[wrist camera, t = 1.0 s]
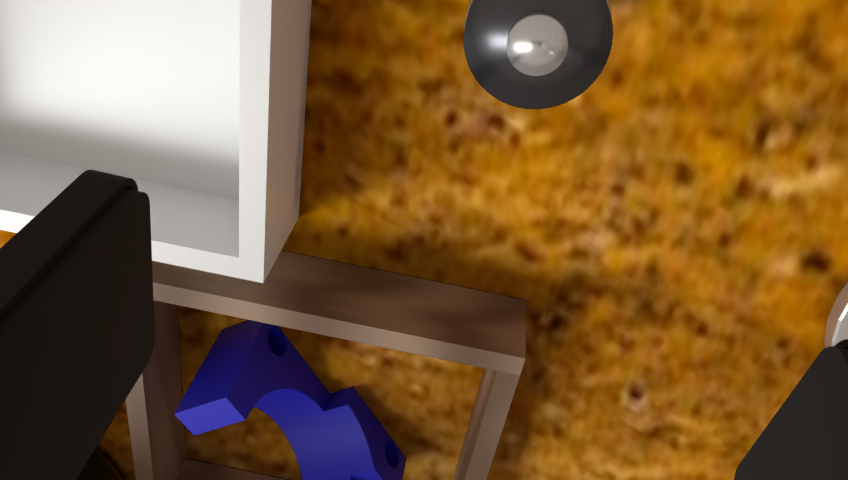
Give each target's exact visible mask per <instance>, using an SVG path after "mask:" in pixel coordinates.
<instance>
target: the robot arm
mask: <svg viewBox="0 0 848 480" xmlns="http://www.w3.org/2000/svg"><path fill="white" fill-rule="evenodd" d="M824 342H825V349H823V351H822V352H821V353H820V354H819V355H818V357H817V358H816V359H815V361H814V362H813V364H812V365H811V366H810V368H809V369H808V370H807V372H806V373H805V375H804V376H803V377H802V379H801V380H800V381H799V383H798V384H797V386H796V387H795V388H794V390H793V391H792V392H791V394H790V395H789V397H788V398H787V399H786V401H785V402H784V403H783V405H782V406H781V408H780V409H779V410H778V412H777V413H776V415H775V416H774V417H773V419H772V420H771V421H770V423H769V424H768V426H767V427H766V428H765V430H764V431H763V432H762V434H761V435H760V437H759V438H758V439H757V441H756V442H755V443H754V445H753V446H752V448H751V449H750V450H749V452H748V453H747V454H746V456H745V457H744V459H743V460H742V461H741V463H740V464H739V466H738V468H737V470H736V473H735V479H734V480H848V282H847V283H846V285H845V286H844V288H843V289H842V290H841V292H840V293H839V295H838V296H837V298H836V300H835V303H834V305H833V307H832V310H831V312H830V314H829V317H828V319H827V325H826V332H825V338H824ZM154 343H155V326H154V300H153V273H152V246H151V220H150V201H149V197H148V194H146V193H145V192H141V191H138V186H137V184H136V181H135V180H133V179H132V178H128V177H123V176H119V175H114V174H110V173H105V172H101V171H96V170H86V171H85V172H83V173H82V174H81V175H79V176H78V177H77V178H76V179H75V180H74V181H73V182H72V183H71V184H70V185H69V186H68V187H66V188H65V189H64V190H63V191H62V192H61V193H60V194H59V195H58V196H57V197H56V198H55V199H54V200H52V201H51V202H50V203H49V204H48V205H47V206H46V207H45V208H44V209H43V210H42V211H41V212H39V213H38V214H37V215H36V216H35V217H34V218H33V219H32V220H31V221H30V222H29V223H28V224H26V225H25V226H24V227H23V228H22V229H21V230H20V231H19V232H18V233H17V234H16V235H15V236H13V237H12V238H11V239H10V240H9V241H8V242H7V243H6V244H5V245H4V246H3V247H2V248H0V480H76V479H77V477H78V475H79V474H80V472H81V471H82V469H83V467H84V466H85V464H86V463H87V461H88V459H89V458H90V456H91V454H92V453H93V451H94V450H95V448H96V446H97V445H98V443H99V442H100V440H101V438H102V437H103V435H104V433H105V432H106V430H107V429H108V427H109V425H110V424H111V422H112V421H113V419H114V417H115V416H116V414H117V413H118V411H119V409H120V408H121V406H122V404H123V403H124V401H125V400H126V398H127V396H128V395H129V393H130V392H131V390H132V388H133V387H134V385H135V383H136V382H137V380H138V379H139V377H140V375H141V374H142V372H143V371H144V369H145V367H146V366H147V364H148V362H149V360H150V358H151V355H152V352H153V348H154Z"/></svg>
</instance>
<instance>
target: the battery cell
mask: <svg viewBox="0 0 848 480" xmlns="http://www.w3.org/2000/svg"><path fill="white" fill-rule="evenodd" d="M612 38H613V25H612V16H611V10H610V5H609V2H608V0H470V2H469V5H468V9H467V13H466V17H465V24H464V50H465V56H466V59H467V63H468V65H469V67H470V70H471V72H472V74H473V75H474V77H475V79H476V80H477V81H478V82H479V84H480V85H481V86H482V87H483V88H484V89H485V90H486V91H487V92H488V93H489V94H491V95H492V96H493V97H495V98H496V99H498V100H500V101H502V102H504V103H506V104H509V105H511V106H515V107H519V108H525V109H544V108H550V107H554V106H558V105H561V104H563V103H566V102H568V101H570V100H572V99H574V98H575V97H577V96H578V95H580V94H581V93H583V92H584V91H585V90H586V89H587V88H588V87H590V85H591V84H592V83H593V82H594V81H595V80H596V79H597V77H598V76H599V74H600V73H601V72H602V70H603V68H604V66H605V64H606V62H607V59H608V57H609V54H610V50H611V46H612Z"/></svg>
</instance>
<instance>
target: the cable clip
mask: <svg viewBox="0 0 848 480" xmlns="http://www.w3.org/2000/svg"><path fill="white" fill-rule="evenodd" d="M253 407H256V408H258V409H260V410H261V411H263V412H265V413H266V414H267V415H268V416H270V417H271V418H272V419H273V420H274V421H275V422H276V423H277V424H278V426H279V427H280V428H281V429H282V431H283V432H284V434H285V435H286V437H287V439H288V440H289V442H290V444H291V446H292V448H293V450H294V453H295V455H296V458H297V461H298V464H299V467H300V471H301V475H302V480H402V477H403V472H404V467H405V461H406V457H405V456H404V454H403V453H402V452H401V450H400V449H399V448H398V446H397V445H396V444H395V442H394V441H393V440H392V438H391V437H390V436H389V434H388V433H387V431H386V430H385V429H384V427H383V426H382V425H381V423H380V422H379V421H378V419H377V418H376V417H375V415H374V414H373V413H372V411H371V410H370V409H369V407H368V406H367V404H366V403H365V402H364V400H363V399H362V398H361V396H360V395H359V394H358V392H357V391H356V390H355V388H354V387H350V388H346V389H343V390H340V391H337V392H333V393H329V392H328V390H327V389H326V388H325V387H324V385H323V384H322V383H321V381H320V380H319V379H318V377H317V376H316V375H315V374H314V372H313V371H312V370H311V368H310V367H309V366H308V364H307V363H306V362H305V360H304V359H303V358H302V357H301V355H300V354H299V353H298V351H297V350H296V349H295V347H294V346H293V345H292V344H291V342H290V341H289V340H288V338H287V337H286V336H285V334H284V333H283V332H282V331H281V329H280V328H279V327H278V326H277V325H272V324H267V323H262V322H257V321H253V320H247V321H245V322H242V323H239V324H236V325H234V326H231V327H228V328H225V329H223V330H221V332H220V334H219V336H218V337H217V339H216V341H215V343H214V345H213V346H212V348H211V350H210V352H209V353H208V355H207V357H206V359H205V360H204V362H203V364H202V366H201V367H200V369H199V371H198V373H197V374H196V376H195V378H194V380H193V381H192V383H191V385H190V387H189V388H188V390H187V392H186V394H185V395H184V397H183V399H182V401H181V403H180V404H179V406H178V408H177V410H176V411H175V413H174V414H175V416H176V417H177V418H178V419H179V420H180V421H181V422H182V423H183V424H184V425H185V426H186V427H187V428H188V429H189V431H190V432H191V433H192V434H193V435H194V436H195V435H198V434H201V433H205V432H208V431H211V430H215V429H218V428H221V427H225V426H228V425H231V424H235V423H238V422H241V421H245V420H246V418H247V417H248V415H249V413H250V411H251V410H252V408H253Z"/></svg>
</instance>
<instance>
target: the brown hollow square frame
mask: <svg viewBox="0 0 848 480" xmlns="http://www.w3.org/2000/svg"><path fill="white" fill-rule="evenodd" d="M152 273H153V300H154V326H155V343H154V348H153V352H152V355H151V358H150V360H149V362H148V364H147V366H146V367H145V369H144V371H143V372H142V374H141V375H140V377H139V379H138V380H137V382H136V383H135V385H134V387H133V388H132V390H131V392H130V393H129V395H128V396H127V398H126V408H127V416H128V423H129V431H130V439H131V447H132V455H133V462H134V470H135V478H136V480H286V479H281V478H276V477H272V476H267V475H262V474H257V473H253V472H248V471H243V470H238V469H234V468H229V467H224V466H219V465H215V464H210V463H205V462H200V461H196V460H191V459H187V457H186V441H185V425H184V424H183V423H182V422H181V421H180V420H179V419H178V418H177V417H176V416H175V414H174V413H175V411H176V410H177V408H178V406H179V404H180V403H181V401H182V399H183V391H182V375H181V358H180V342H179V325H178V309H177V305H179V306H184V307H189V308H194V309H199V310H204V311H209V312H214V313H218V314H223V315H228V316H233V317H238V318H243V319H248V320H253V321H257V322H262V323H267V324H272V325H277V326H282V327H287V328H291V329H296V330H301V331H306V332H311V333H316V334H321V335H326V336H330V337H335V338H340V339H345V340H350V341H355V342H360V343H365V344H369V345H374V346H379V347H384V348H389V349H394V350H399V351H404V352H408V353H413V354H418V355H423V356H428V357H433V358H438V359H442V360H447V361H452V362H457V363H462V364H467V365H472V366H477V367H481V368H485V369H484V372H483V376H482V380H481V383H480V387H479V390H478V394H477V397H476V401H475V404H474V408H473V411H472V415H471V419H470V422H469V426H468V429H467V433H466V436H465V440H464V443H463V447H462V450H461V454H460V458H459V461H458V465H457V468H456V472H455V475H454V479H453V480H486V479H487V476H488V473H489V470H490V467H491V464H492V461H493V458H494V455H495V451H496V448H497V445H498V442H499V439H500V436H501V433H502V430H503V427H504V424H505V421H506V418H507V415H508V411H509V408H510V405H511V402H512V399H513V396H514V393H515V390H516V387H517V384H518V381H519V378H520V374H521V371H522V368H523V365H524V362H525V359H526V300H524V299H519V298H514V297H509V296H504V295H499V294H494V293H489V292H484V291H479V290H474V289H470V288H465V287H460V286H455V285H450V284H445V283H440V282H435V281H430V280H425V279H420V278H415V277H410V276H405V275H400V274H396V273H391V272H386V271H381V270H376V269H371V268H366V267H361V266H356V265H351V264H346V263H341V262H336V261H331V260H327V259H322V258H317V257H312V256H307V255H302V254H297V253H292V252H287V251H282V250H281V252H280V253H279V255H278V257H277V259H276V261H275V263H274V265H273V266H272V268H271V270H270V272H269V274H268V276H267V277H266V279H265V281H264V283H260V282H255V281H250V280H245V279H240V278H235V277H230V276H225V275H220V274H215V273H210V272H206V271H201V270H196V269H191V268H186V267H181V266H176V265H171V264H166V263H161V262H157V261H152Z"/></svg>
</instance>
